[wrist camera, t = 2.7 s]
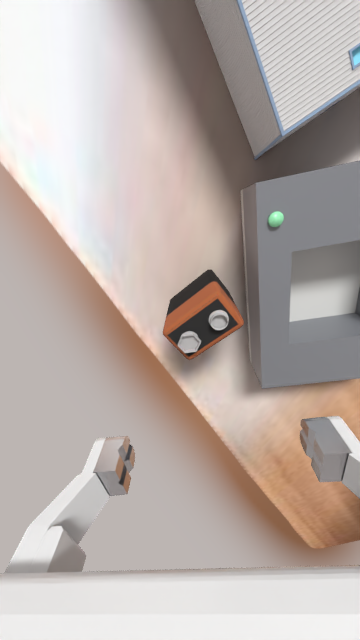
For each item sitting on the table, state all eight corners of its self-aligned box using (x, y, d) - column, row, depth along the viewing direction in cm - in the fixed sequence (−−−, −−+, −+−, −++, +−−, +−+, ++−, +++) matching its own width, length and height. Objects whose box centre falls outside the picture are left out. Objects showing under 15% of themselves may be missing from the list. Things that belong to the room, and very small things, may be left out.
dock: (366, 345, 30) (407, 375, 25) (249, 359, 32) (262, 390, 26) (407, 155, 21) (487, 132, 15) (240, 190, 23) (257, 182, 17)
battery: (168, 299, 29) (158, 338, 20) (210, 266, 26) (220, 293, 18) (189, 322, 30) (189, 368, 21) (230, 293, 28) (249, 330, 19)
